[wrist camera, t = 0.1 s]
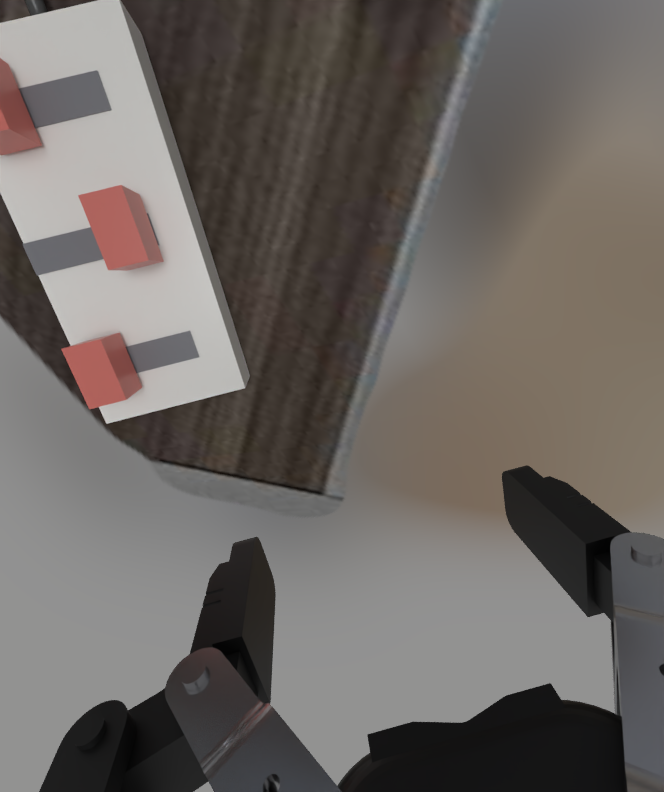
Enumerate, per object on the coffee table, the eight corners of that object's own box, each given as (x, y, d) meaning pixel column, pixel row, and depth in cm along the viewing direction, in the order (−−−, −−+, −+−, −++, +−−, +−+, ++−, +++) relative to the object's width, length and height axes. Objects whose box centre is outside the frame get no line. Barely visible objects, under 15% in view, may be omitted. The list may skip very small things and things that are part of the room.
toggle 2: (101, 203, 30) (78, 195, 27) (139, 194, 30) (121, 184, 27) (127, 270, 32) (108, 270, 28) (163, 261, 32) (148, 260, 28)
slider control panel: (-64, -24, 29) (-129, -78, 24) (110, -64, 29) (78, -125, 25) (124, 407, 40) (103, 425, 35) (250, 375, 40) (245, 388, 36)
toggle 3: (84, 341, 33) (61, 348, 30) (119, 332, 33) (100, 339, 30) (109, 396, 34) (89, 409, 31) (142, 387, 34) (126, 399, 31)
